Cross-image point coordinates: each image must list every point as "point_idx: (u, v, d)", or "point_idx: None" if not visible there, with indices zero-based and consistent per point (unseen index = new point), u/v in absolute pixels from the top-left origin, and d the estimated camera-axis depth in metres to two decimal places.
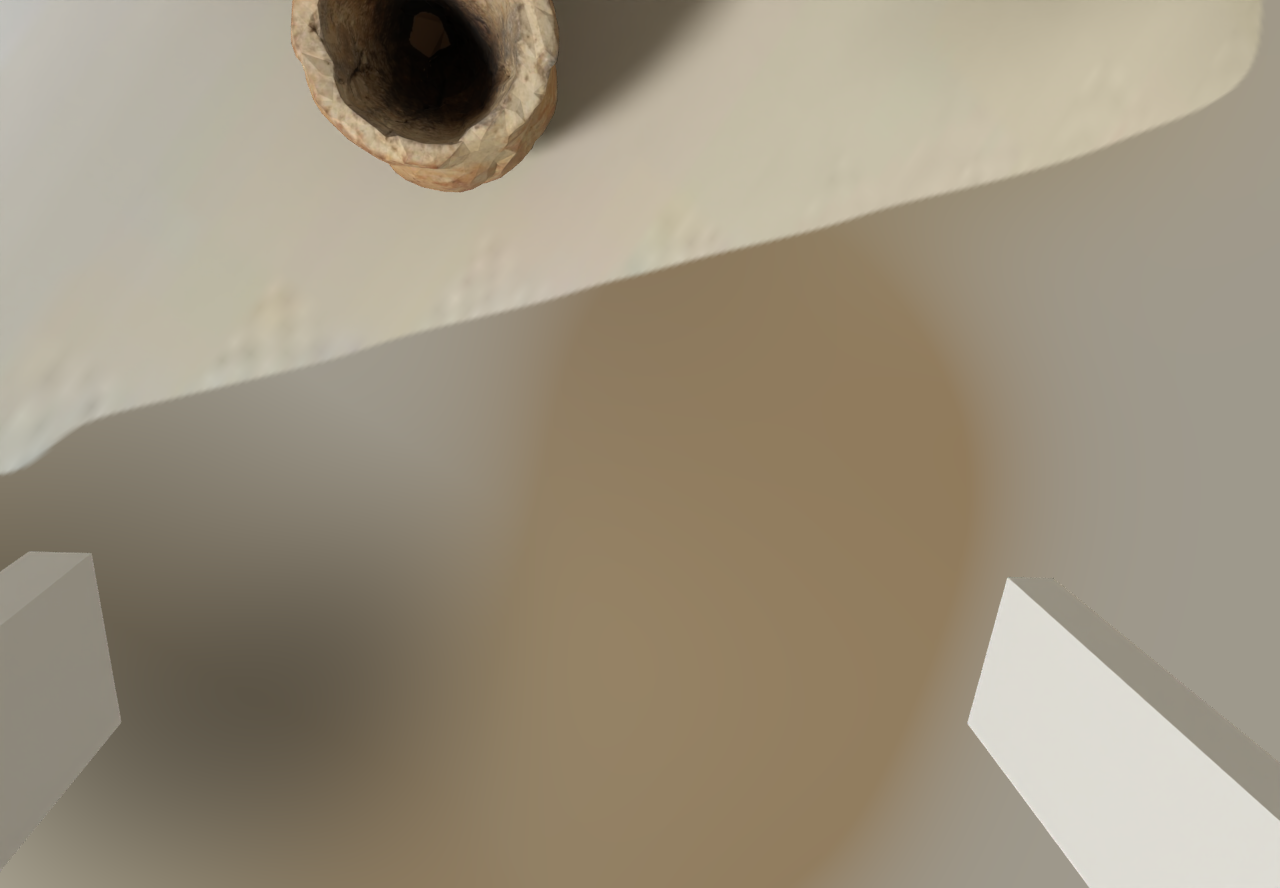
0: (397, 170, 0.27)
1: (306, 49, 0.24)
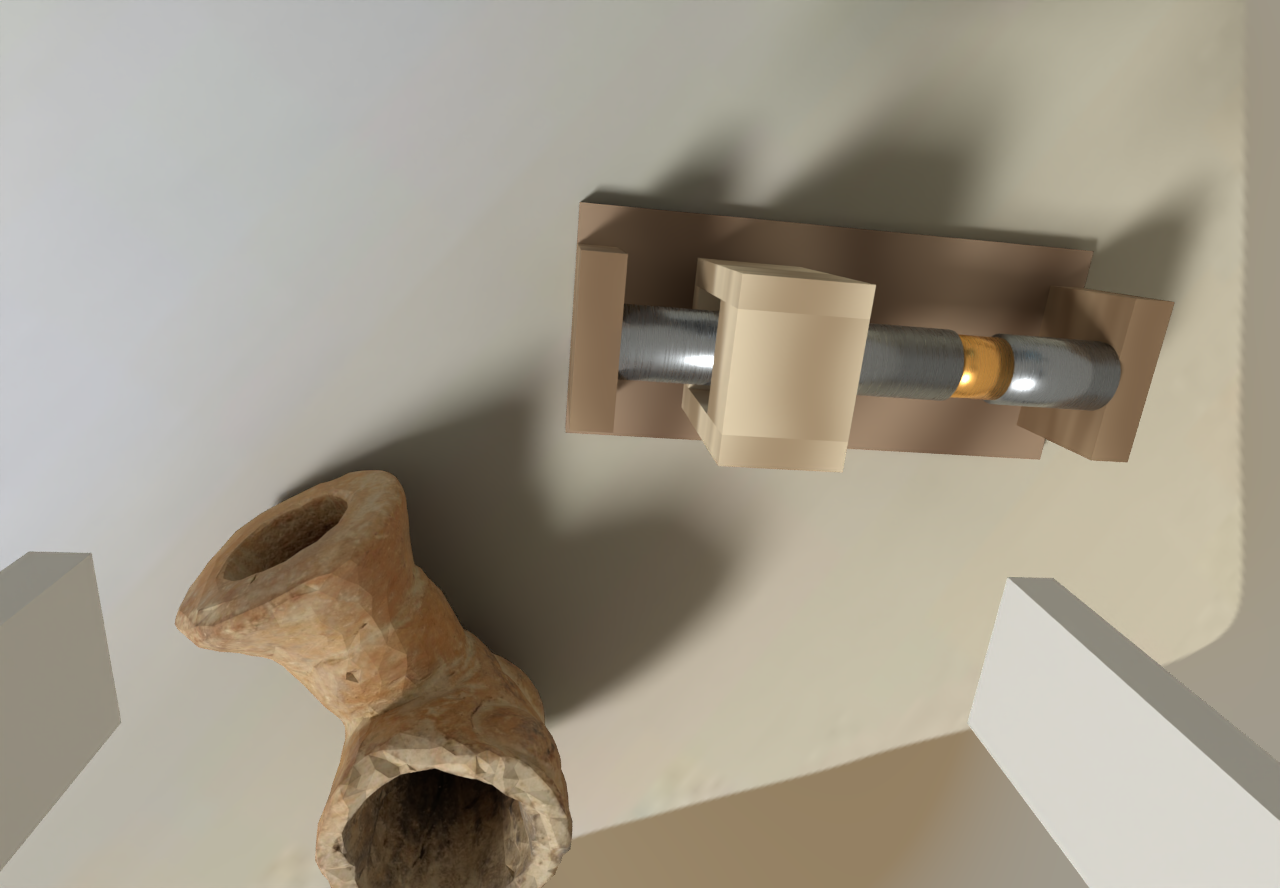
0: None
1: (329, 866, 0.25)
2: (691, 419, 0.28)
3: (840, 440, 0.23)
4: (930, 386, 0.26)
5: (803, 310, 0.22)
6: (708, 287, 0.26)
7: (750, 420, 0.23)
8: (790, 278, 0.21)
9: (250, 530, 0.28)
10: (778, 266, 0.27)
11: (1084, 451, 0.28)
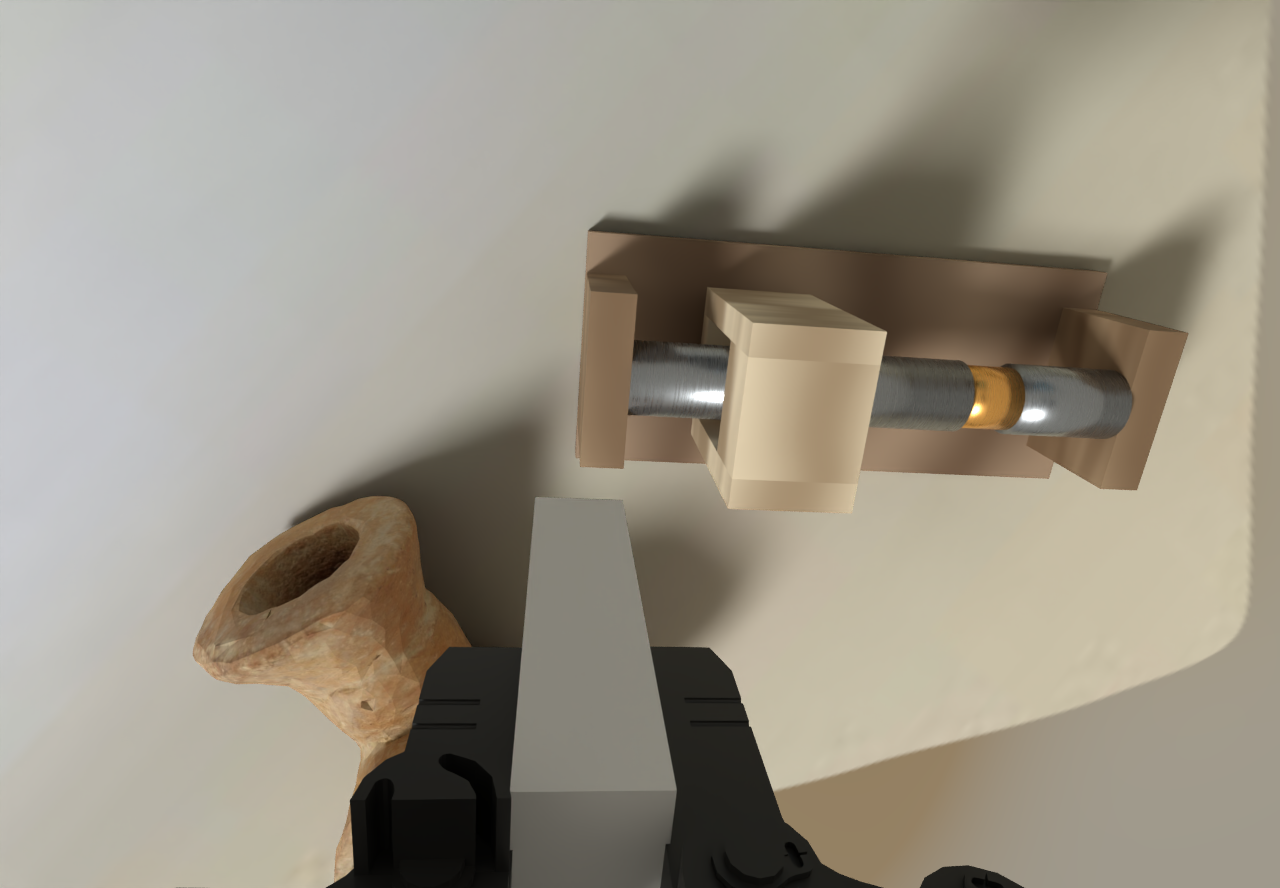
0: None
1: None
2: (701, 450, 0.28)
3: (850, 482, 0.23)
4: (940, 419, 0.26)
5: (813, 357, 0.22)
6: (718, 322, 0.26)
7: (760, 465, 0.23)
8: (801, 326, 0.21)
9: (264, 558, 0.29)
10: (788, 297, 0.27)
11: (1094, 479, 0.28)
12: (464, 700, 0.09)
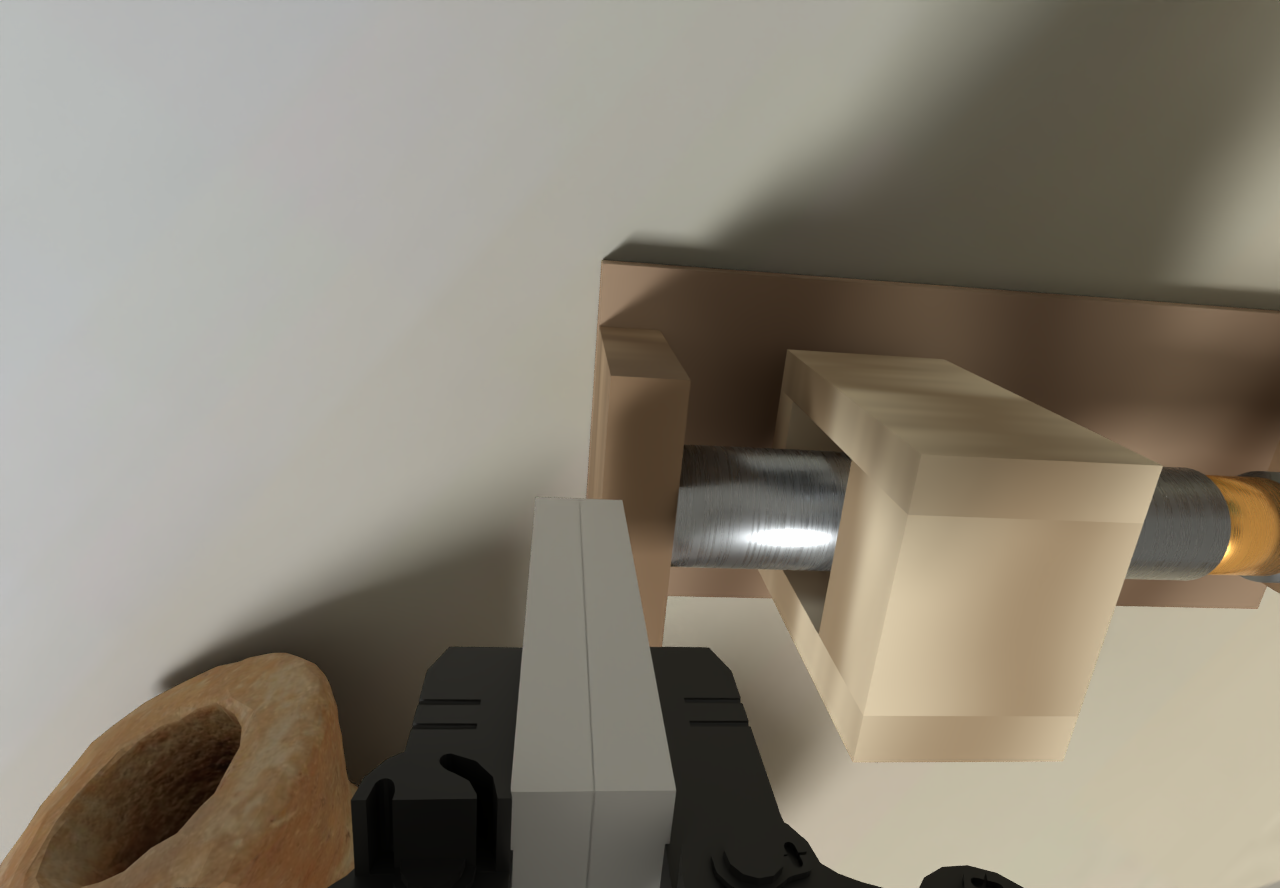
0: None
1: None
2: (778, 605, 0.18)
3: (1065, 714, 0.13)
4: (1171, 569, 0.16)
5: (1026, 513, 0.12)
6: (816, 416, 0.16)
7: (913, 692, 0.13)
8: (1008, 459, 0.11)
9: (101, 760, 0.19)
10: (919, 368, 0.17)
11: None
12: (464, 700, 0.09)
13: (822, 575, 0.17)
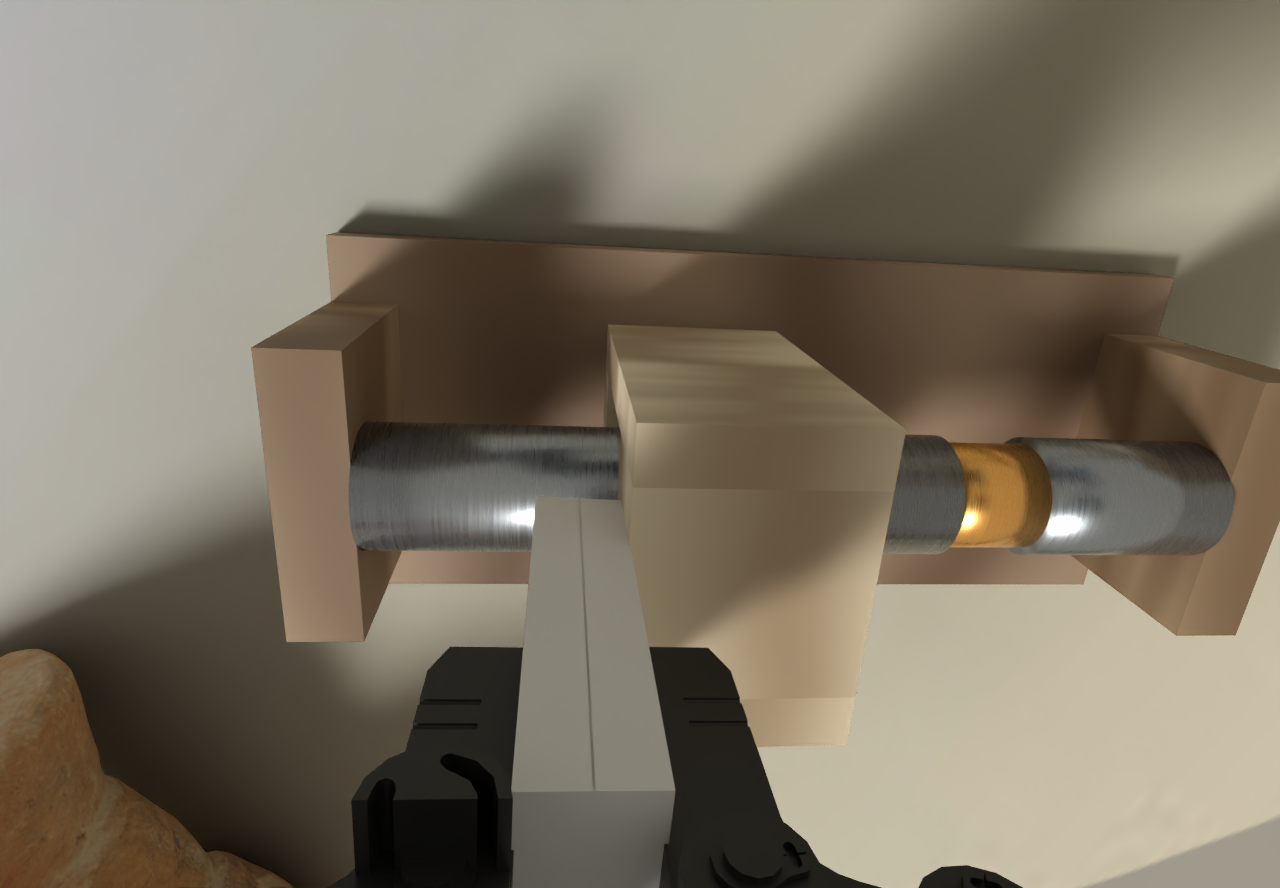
0: None
1: None
2: None
3: (841, 695, 0.13)
4: (907, 542, 0.15)
5: (763, 483, 0.11)
6: (613, 391, 0.15)
7: None
8: (734, 426, 0.11)
9: None
10: (737, 339, 0.16)
11: (1164, 617, 0.17)
12: (465, 700, 0.09)
13: None
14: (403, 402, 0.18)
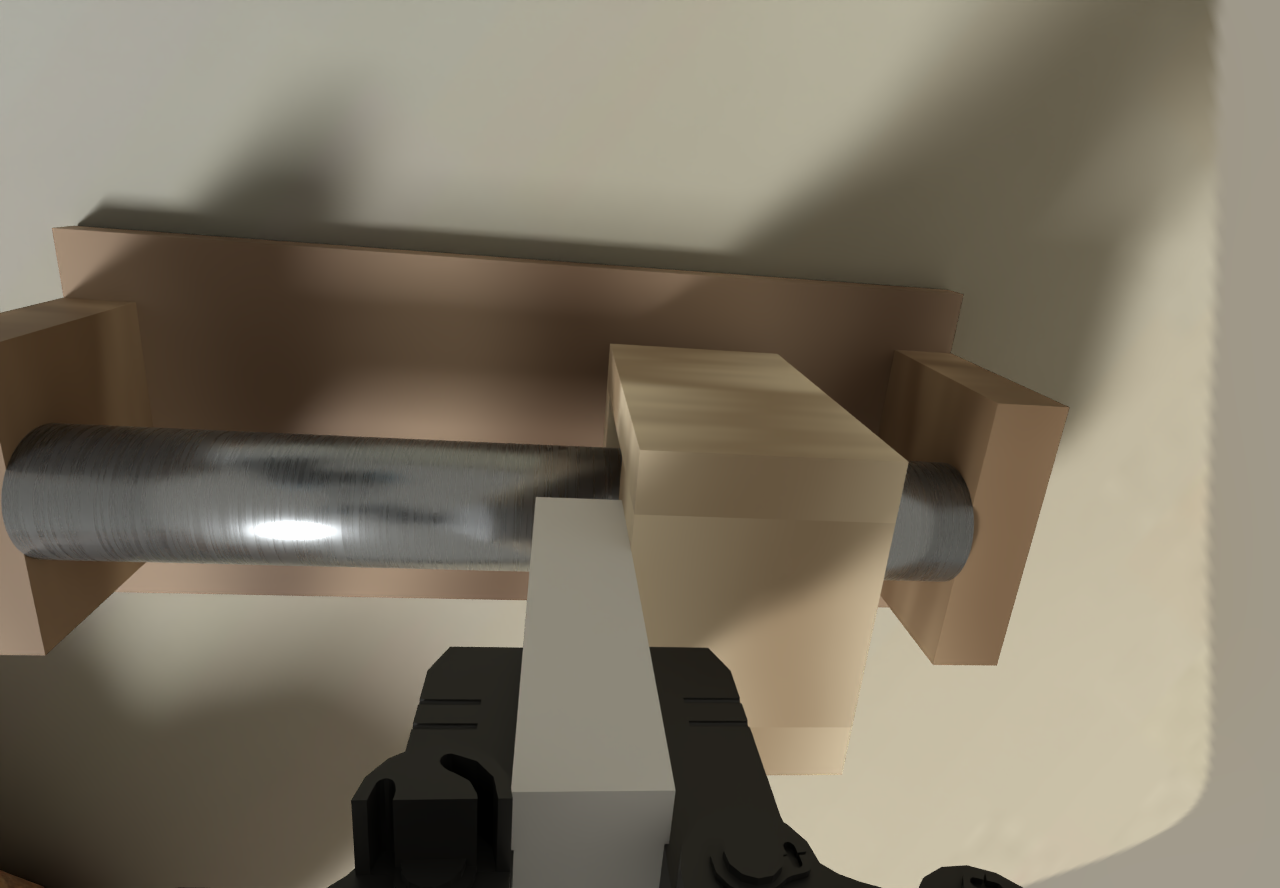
0: None
1: None
2: None
3: (838, 725, 0.13)
4: None
5: (765, 512, 0.11)
6: (614, 412, 0.15)
7: None
8: (737, 455, 0.11)
9: None
10: (739, 362, 0.17)
11: (925, 645, 0.17)
12: (465, 700, 0.09)
13: None
14: (151, 404, 0.18)
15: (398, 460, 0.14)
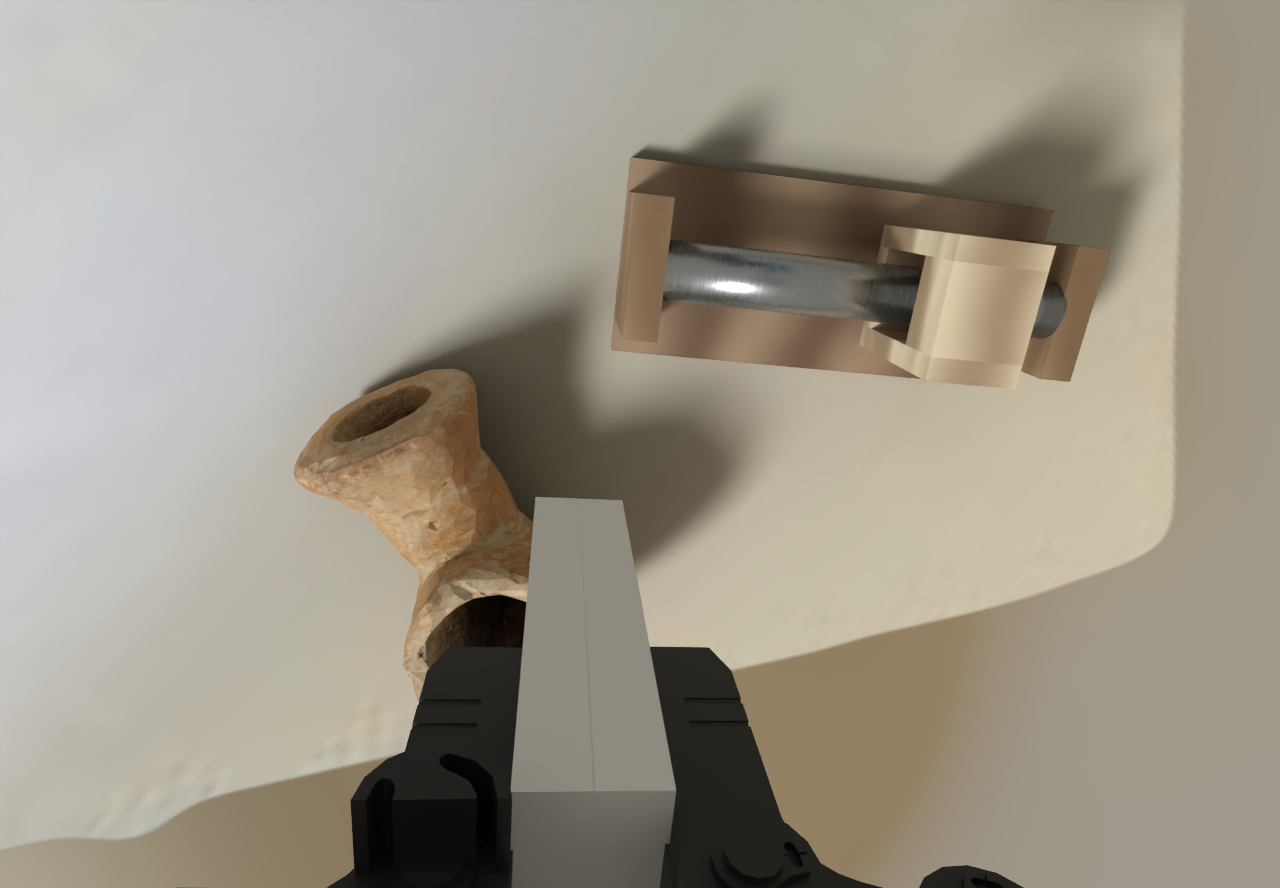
0: None
1: (414, 669, 0.32)
2: (877, 352, 0.35)
3: (1016, 364, 0.31)
4: (911, 312, 0.33)
5: (1001, 263, 0.29)
6: (904, 247, 0.33)
7: (952, 346, 0.30)
8: (994, 239, 0.29)
9: (348, 411, 0.35)
10: None
11: (1035, 372, 0.35)
12: (464, 700, 0.09)
13: (901, 336, 0.35)
14: None
15: (818, 260, 0.32)
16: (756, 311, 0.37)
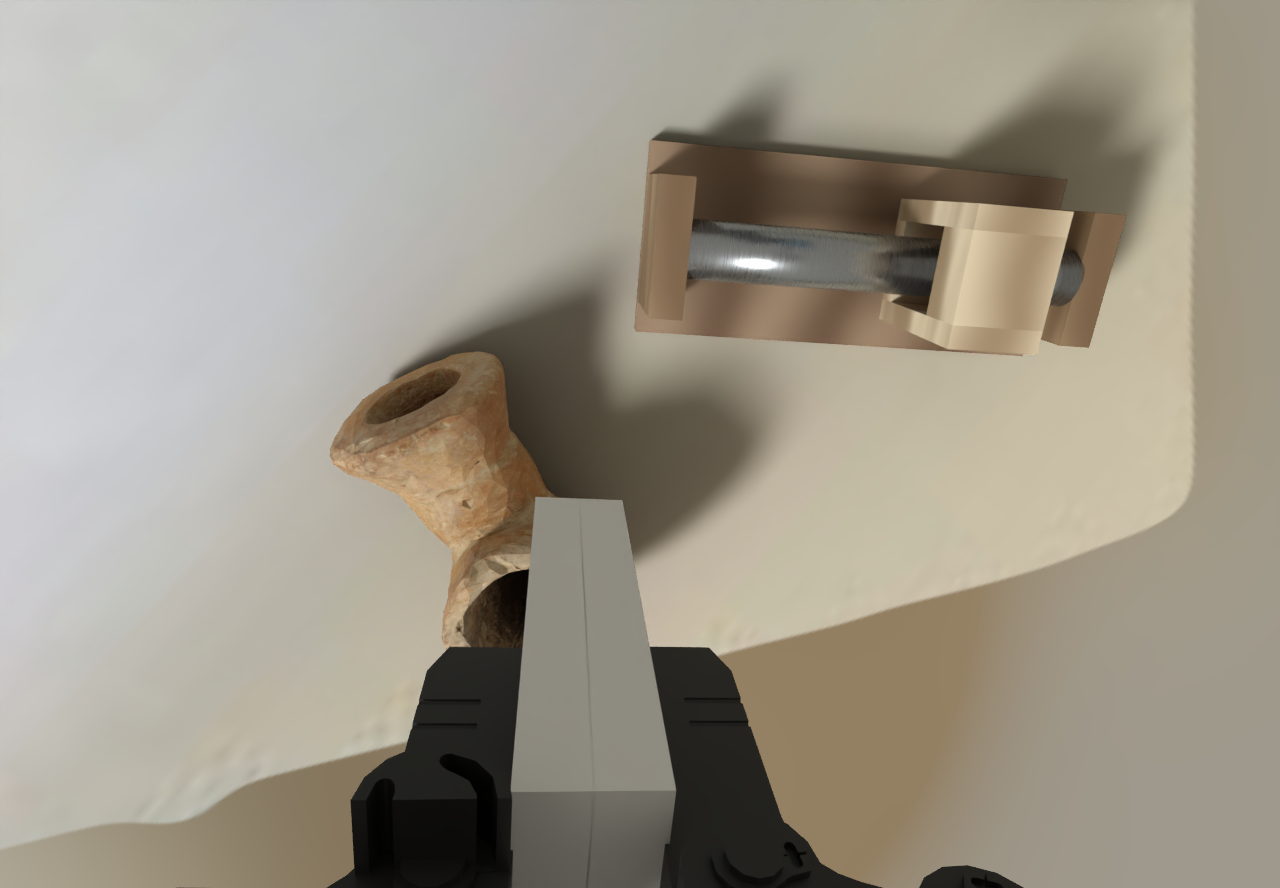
0: None
1: (452, 643, 0.33)
2: (898, 324, 0.36)
3: (1037, 330, 0.31)
4: (931, 283, 0.33)
5: (1020, 231, 0.30)
6: (922, 219, 0.34)
7: (974, 314, 0.31)
8: (1012, 207, 0.29)
9: (379, 395, 0.35)
10: None
11: (1054, 339, 0.35)
12: (464, 700, 0.09)
13: (920, 307, 0.35)
14: None
15: (838, 234, 0.33)
16: (776, 288, 0.38)
